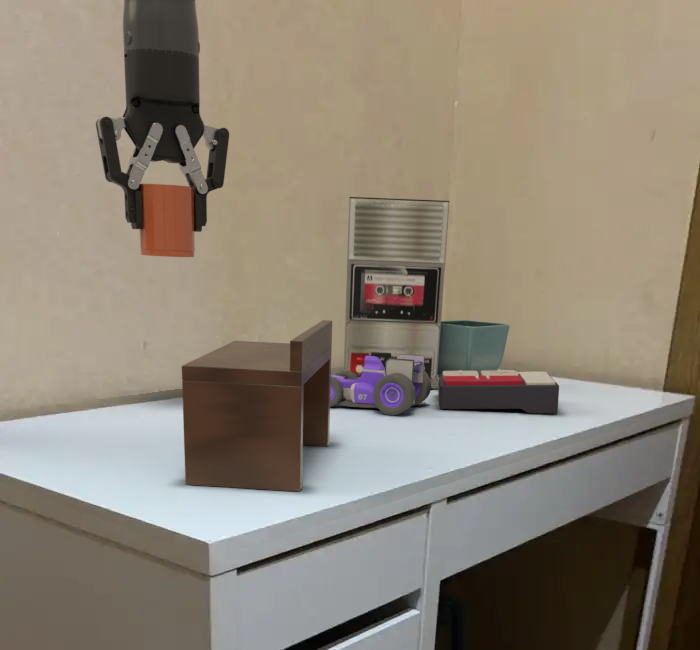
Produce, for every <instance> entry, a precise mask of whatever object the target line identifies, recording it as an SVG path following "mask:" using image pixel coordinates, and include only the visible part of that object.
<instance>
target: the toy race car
mask: <svg viewBox="0 0 700 650" xmlns="http://www.w3.org/2000/svg"><path fill="white" fill-rule="evenodd" d="M424 360H425V356H418V355H405V354H400V355H399V356H398V357H397V358H389V359H387V360H386V362H385V367H384V366H383V364H382V362H381V360H380V359H379V358H377V357H375V356H365V359H364V363H365V365H364V367H363V371H362V375H361V377H360V378H358V377H357V376H356V375H355V374H354V373H353V372H350V371H344V370H342V371H340V372H337V373H335V374H331V389H330V408H332V407H334V406H341V407H351V408H363V409H364V408H365V409H366V408H367V409H378V410H379V411H380V412H382V413H383V414H385V415H388V416H397V415H399V414H403V413H404V412H406V411H407V410H409V409H410V408H411V407H415V406H417V405H420V404H421V403H423V402H425V401H426V400H427V398H428V397H429V396H430V393H431V390H432V389H431V381H430V378H429V376H428V374H427V373H426V372H425V371H424Z"/></svg>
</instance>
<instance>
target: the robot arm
mask: <svg viewBox="0 0 700 650" xmlns="http://www.w3.org/2000/svg"><path fill="white" fill-rule="evenodd" d="M122 15H123V16H122V39H123V60H124V61H123V62H124V84H125V85H124V86H125V87H124V88H125V110H124V113H123V115H122V117H109V116H101V117H100V118H98V119H97V120H96V121H95V129H96V134H97V139H98V145H99V151H100V156H101V161H102V168H103V172H104V173H103V174H104V176H105V177H104V178H105V180H106V181H107V182H108V183H112V184H115V185H117V186H119V187H120V188H121V189H122V190H123V192H124V214H125V215H124V217H125V220H126V222H127V224H130V225H131V229H132V230H139V229H142V228H143V214H142V191H139V185H140V184H141V182H142V180H143V177H144V175H145V172H146V171H147V169H148V168H149V166H150V163H151V162H153V163H155V162H161V161H164V162H166V163H168V164H177V165H178V167H179V170H180V172H181V173H182V175H183V176H184V178H185V180H186V183H187V186H190V187H193V188H194V233H202V231H203V227H206V226H207V222H208V212H207V211H208V207H207V206H208V205H207V203H208V201H207V198H208V194H209V193H210V192H212V191H215V190H217V189H221V188H223V186H224V184H225V173H226V165H227V159H228V149H229V142H230V141H229V140H230V131H229V129H228V128H226V127H219V128H216V127H213V126H210V125H206V124H204V121H203V119H202V116H201V113H200V104H201V102H200V53H201V44H200V41H199V40H200V39H199V36H200V35H199V34H200V33H199V22H198V16H197V5H196V0H123V13H122ZM123 129H124V131H125V132H126V133H127V136H128V137H129V139H130V140H131V142H132V143H133V145H134V148H133V151H132V153H131V156H130V158H129V161H128V166H127V169H126V172H124V171H122V167H121V161H120V155H119V150H118V143H117V141H119V140H120V139H121V137H122V130H123ZM202 137H203V139H204V142H205V143H204V144H205V147H206V148H207V149H208V150H209V152H208V160H207V161H208V162H207V169H206V178H205V176H204V174H203V171H202V165H201V164H200V161H199V158H198V156H197V153H196V151H195V148H196V146H197V144H198V143H199V142H200V140H201V139H202Z"/></svg>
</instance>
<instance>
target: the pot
mask: <svg viewBox="0 0 700 650" xmlns="http://www.w3.org/2000/svg"><path fill="white" fill-rule="evenodd" d="M139 191H142V214H143V228H142V229H138V231H139V232H138V234H139V250H140V255H141V256H147V257H148V256H149V257H167V258H169V257H170V258H194V257H195V251H196V250H195V248H196V247H195V243H196V242H195V241H196V240H195V232H194V188H193V187H190V186H189V185H177V184H164V183H162V184H161V183H140V185H139Z"/></svg>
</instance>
